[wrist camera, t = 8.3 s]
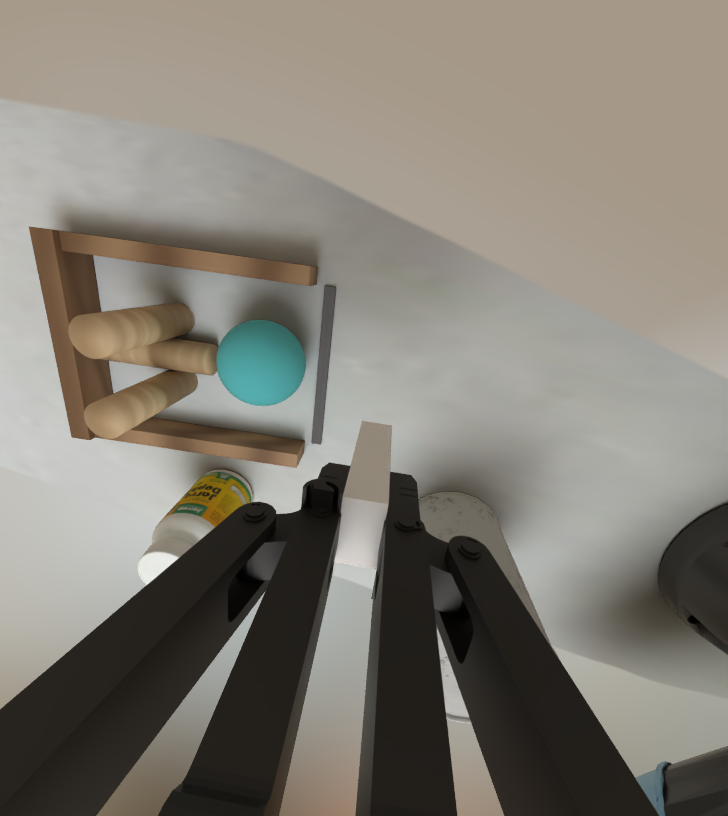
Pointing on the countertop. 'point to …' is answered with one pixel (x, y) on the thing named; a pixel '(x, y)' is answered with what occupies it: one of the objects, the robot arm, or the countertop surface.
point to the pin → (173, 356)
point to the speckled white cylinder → (478, 521)
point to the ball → (260, 362)
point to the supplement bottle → (193, 519)
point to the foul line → (323, 362)
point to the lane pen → (90, 378)
